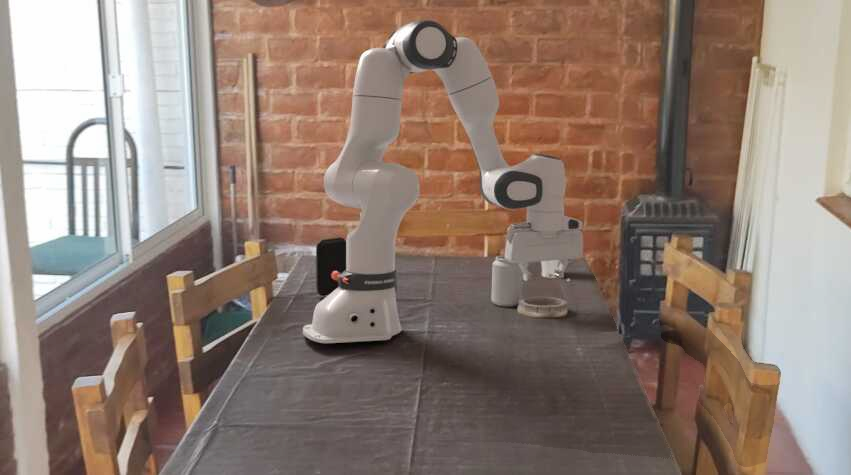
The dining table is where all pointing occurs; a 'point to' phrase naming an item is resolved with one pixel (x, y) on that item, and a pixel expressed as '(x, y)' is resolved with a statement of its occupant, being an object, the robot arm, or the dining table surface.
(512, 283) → the can
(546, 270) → the beer glass
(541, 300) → the beige round shallow dish
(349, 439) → the dining table surface
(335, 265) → the carrying case or bag
